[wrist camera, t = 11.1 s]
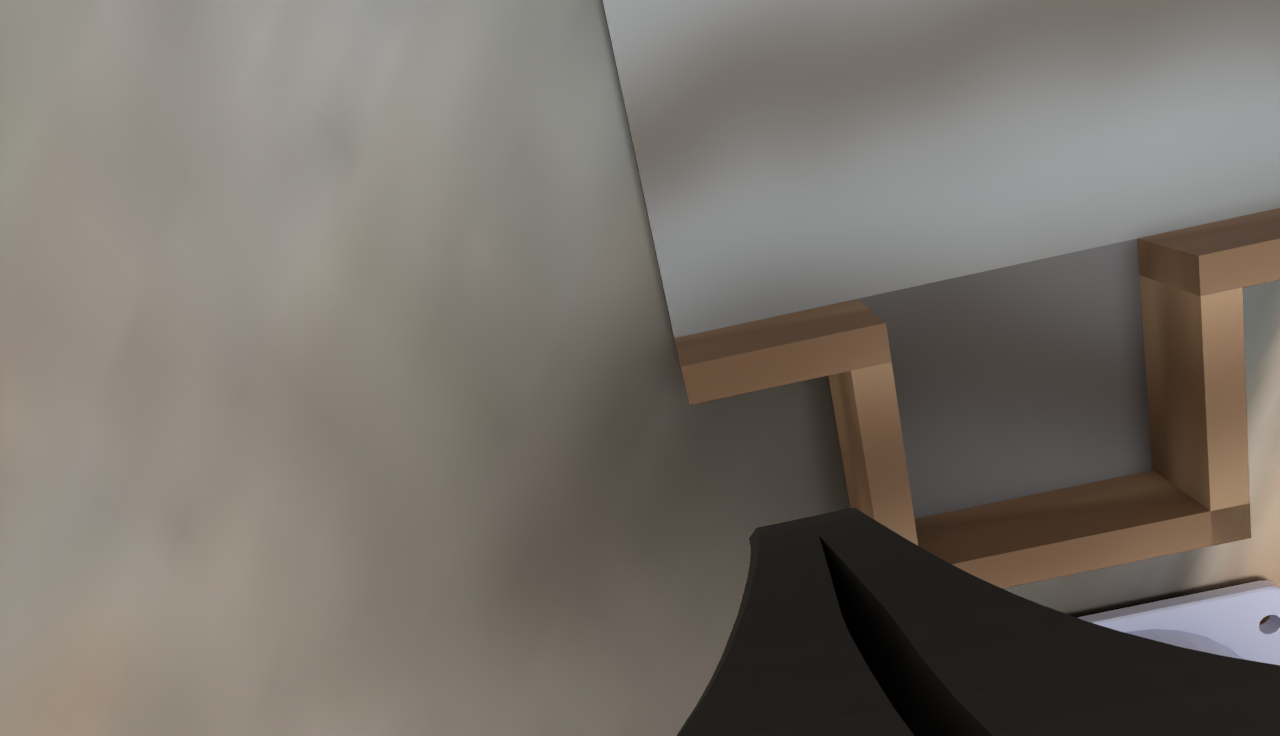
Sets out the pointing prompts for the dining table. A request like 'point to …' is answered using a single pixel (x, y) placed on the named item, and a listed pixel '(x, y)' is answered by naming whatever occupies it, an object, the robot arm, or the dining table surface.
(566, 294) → the dining table surface
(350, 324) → the dining table surface
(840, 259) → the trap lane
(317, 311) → the dining table surface
